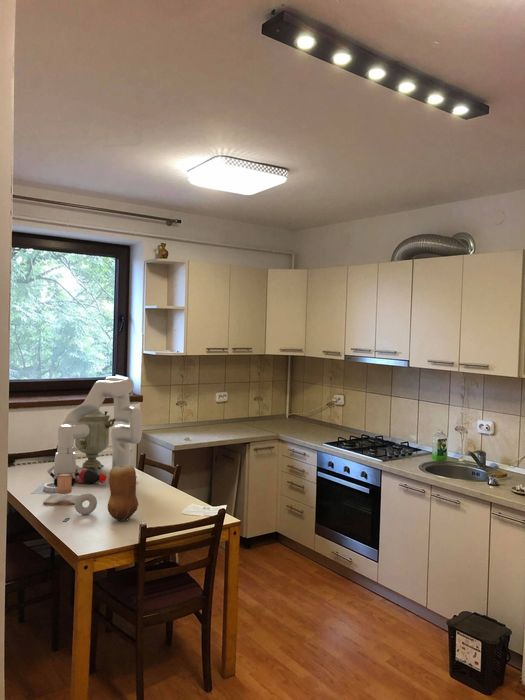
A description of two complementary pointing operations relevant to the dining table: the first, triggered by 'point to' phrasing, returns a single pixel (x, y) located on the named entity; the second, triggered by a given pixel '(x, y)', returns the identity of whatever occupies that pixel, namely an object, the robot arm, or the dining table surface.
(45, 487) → the squash holder
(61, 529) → the dining table surface
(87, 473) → the cola bottle
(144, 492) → the dining table surface
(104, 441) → the samovar
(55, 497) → the walnut board
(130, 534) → the dining table surface
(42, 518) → the dining table surface
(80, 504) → the donut
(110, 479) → the butternut squash
